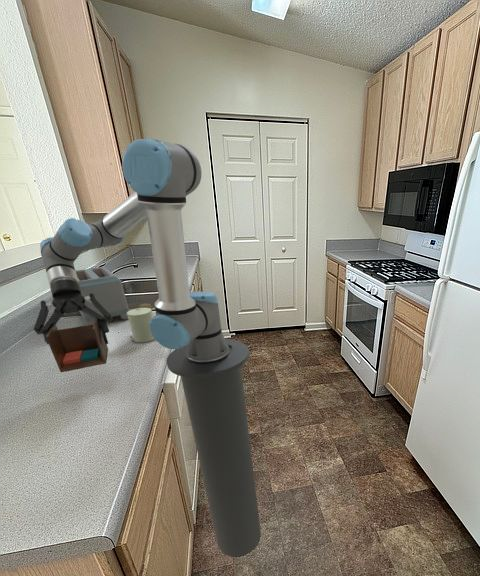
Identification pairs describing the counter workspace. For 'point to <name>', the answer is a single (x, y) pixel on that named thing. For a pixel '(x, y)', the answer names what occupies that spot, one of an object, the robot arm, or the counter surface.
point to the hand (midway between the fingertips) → (81, 347)
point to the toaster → (102, 292)
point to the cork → (145, 306)
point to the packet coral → (72, 357)
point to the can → (140, 324)
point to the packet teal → (90, 355)
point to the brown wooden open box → (77, 344)
